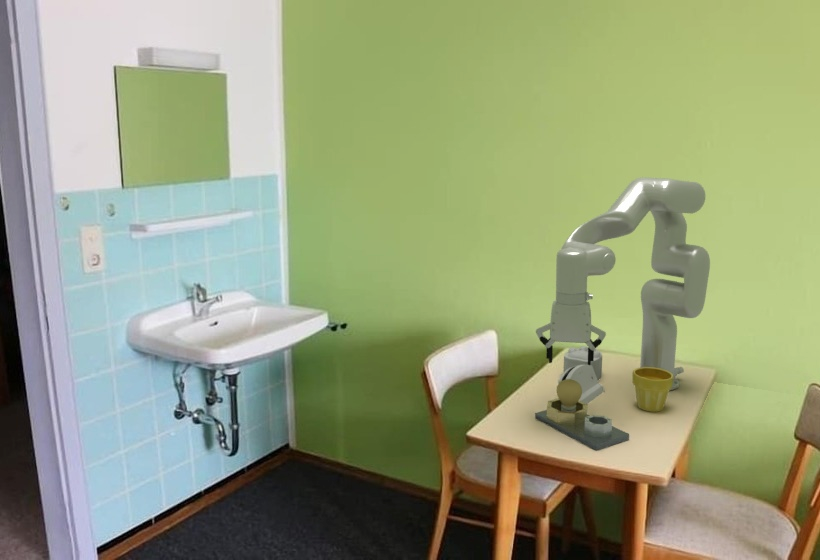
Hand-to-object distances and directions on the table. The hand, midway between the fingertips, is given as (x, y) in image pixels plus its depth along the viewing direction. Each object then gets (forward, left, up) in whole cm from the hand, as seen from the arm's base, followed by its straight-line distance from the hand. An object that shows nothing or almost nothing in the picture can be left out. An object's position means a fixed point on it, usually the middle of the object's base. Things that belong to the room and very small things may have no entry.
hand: (569, 362), depth 179 cm
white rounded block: (-14, -11, -17) cm, 24 cm away
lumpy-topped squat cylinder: (-27, -22, -17) cm, 39 cm away
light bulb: (0, 0, -15) cm, 15 cm away
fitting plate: (0, +5, -16) cm, 17 cm away
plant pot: (-26, +5, -16) cm, 31 cm away
